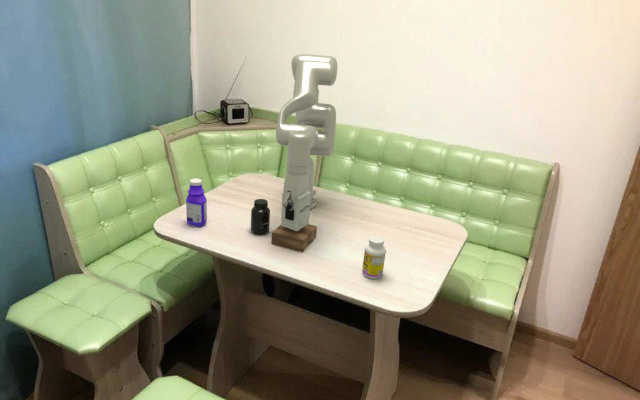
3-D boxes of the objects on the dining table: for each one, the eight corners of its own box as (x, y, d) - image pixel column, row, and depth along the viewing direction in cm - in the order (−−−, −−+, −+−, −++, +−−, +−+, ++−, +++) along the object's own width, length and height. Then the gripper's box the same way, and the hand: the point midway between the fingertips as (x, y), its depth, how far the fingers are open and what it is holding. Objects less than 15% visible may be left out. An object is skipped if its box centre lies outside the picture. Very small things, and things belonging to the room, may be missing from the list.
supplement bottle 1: (266, 236, 177) (267, 206, 172) (248, 233, 178) (248, 203, 173) (271, 228, 183) (272, 199, 178) (254, 225, 184) (254, 196, 179)
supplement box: (297, 232, 168) (299, 198, 163) (280, 225, 172) (281, 192, 167) (309, 224, 174) (311, 191, 169) (292, 218, 178) (294, 186, 172)
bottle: (209, 222, 184) (208, 179, 177) (202, 228, 179) (200, 184, 172) (192, 218, 185) (190, 175, 178) (184, 225, 180) (182, 181, 173)
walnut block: (286, 230, 183) (286, 218, 181) (316, 238, 179) (316, 226, 177) (271, 244, 172) (271, 232, 170) (302, 253, 168) (303, 240, 166)
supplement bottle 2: (360, 268, 162) (364, 233, 156) (380, 268, 162) (385, 234, 157) (363, 279, 156) (368, 244, 150) (384, 280, 156) (389, 244, 151)
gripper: (301, 158, 173) (299, 203, 180) (274, 172, 159) (272, 221, 166) (320, 163, 170) (317, 209, 177) (294, 178, 155) (291, 227, 163)
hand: (295, 214), depth 171 cm, fingers closed on supplement box, 7 cm apart
